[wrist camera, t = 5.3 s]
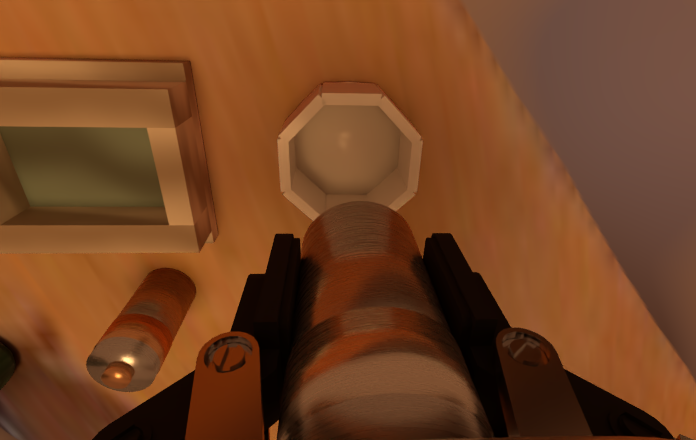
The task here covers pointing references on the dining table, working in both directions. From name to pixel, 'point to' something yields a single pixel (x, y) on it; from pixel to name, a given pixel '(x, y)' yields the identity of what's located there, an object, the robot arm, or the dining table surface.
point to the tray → (102, 158)
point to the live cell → (142, 332)
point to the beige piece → (348, 150)
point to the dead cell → (372, 339)
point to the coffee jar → (6, 365)
